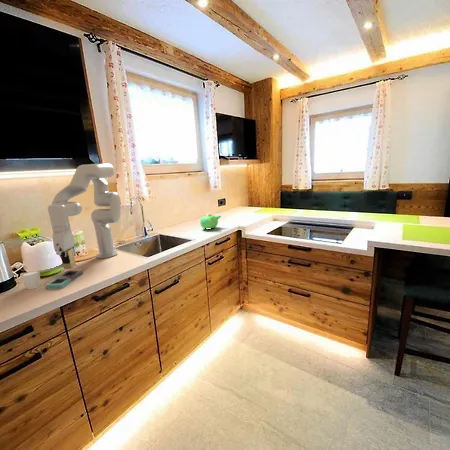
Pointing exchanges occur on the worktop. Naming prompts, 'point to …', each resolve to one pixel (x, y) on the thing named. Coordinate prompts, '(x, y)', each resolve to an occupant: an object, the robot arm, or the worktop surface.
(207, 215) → the green teapot
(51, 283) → the teal and grey tray
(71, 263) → the nut block
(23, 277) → the white cylinder
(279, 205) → the worktop surface
